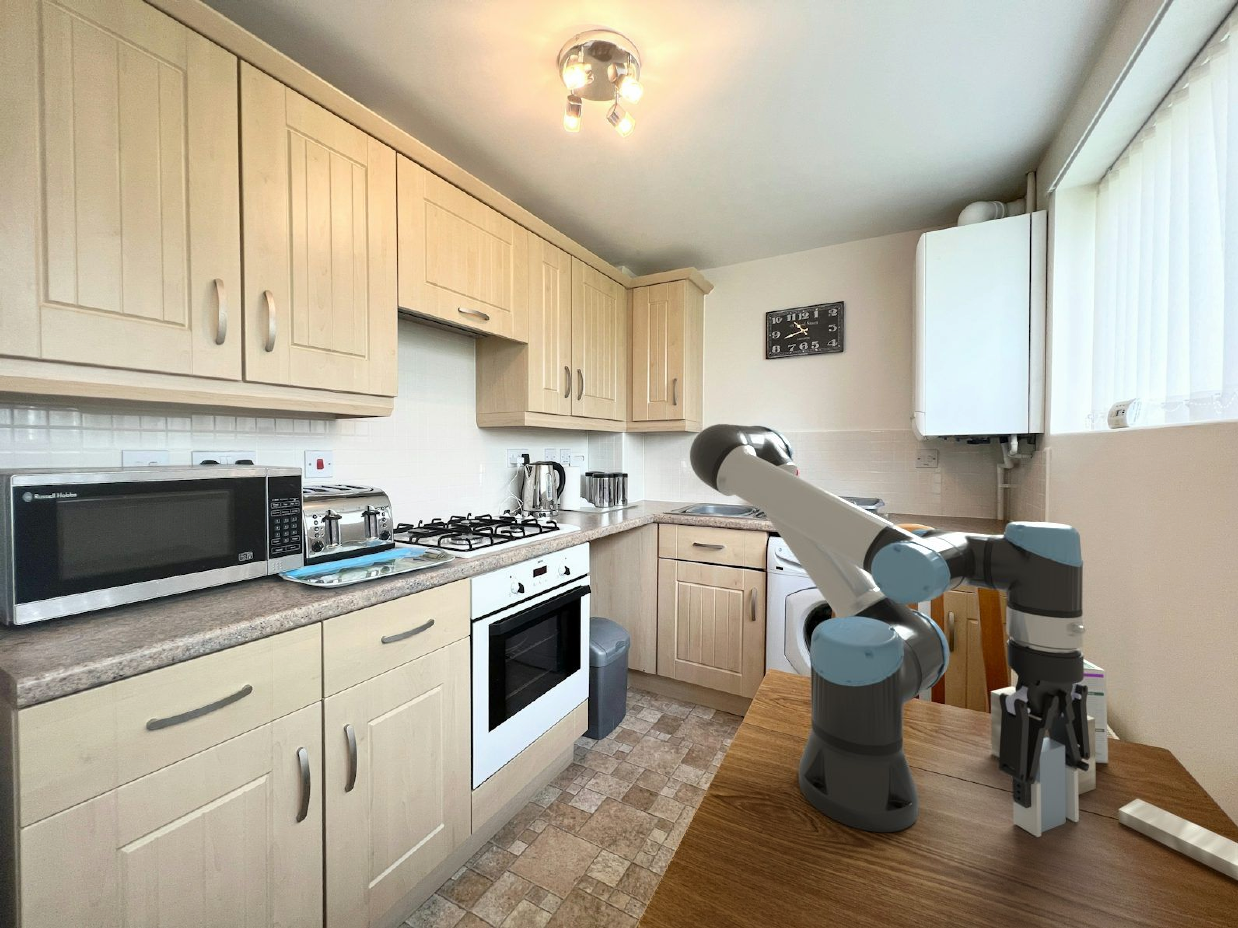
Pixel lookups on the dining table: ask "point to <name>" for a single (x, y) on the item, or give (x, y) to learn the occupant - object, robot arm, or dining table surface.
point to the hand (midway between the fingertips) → (1046, 821)
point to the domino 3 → (1088, 762)
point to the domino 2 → (1052, 784)
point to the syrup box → (1097, 707)
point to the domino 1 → (997, 718)
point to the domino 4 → (1182, 836)
